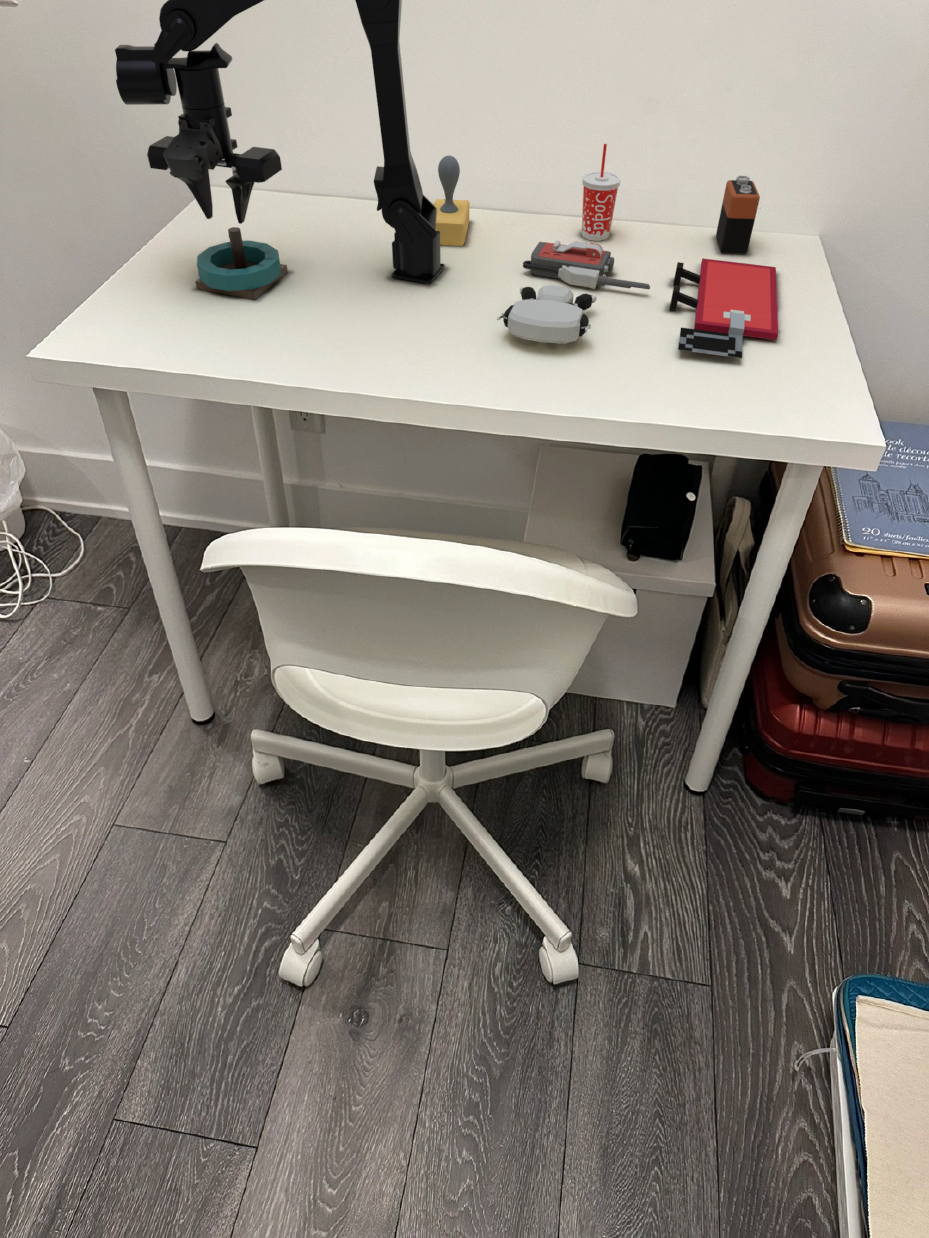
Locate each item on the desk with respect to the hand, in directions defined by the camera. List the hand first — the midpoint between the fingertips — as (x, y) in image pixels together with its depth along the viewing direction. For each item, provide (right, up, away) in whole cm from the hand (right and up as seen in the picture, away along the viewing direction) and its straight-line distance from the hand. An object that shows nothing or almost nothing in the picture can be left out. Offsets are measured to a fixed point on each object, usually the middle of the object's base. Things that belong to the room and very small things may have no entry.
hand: (225, 220), depth 133 cm
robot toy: (+47, -18, -7) cm, 51 cm away
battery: (+79, +2, +13) cm, 80 cm away
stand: (+2, -8, +3) cm, 9 cm away
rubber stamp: (+33, +5, +16) cm, 37 cm away
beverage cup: (+57, +5, +16) cm, 60 cm away
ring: (+2, -7, +2) cm, 7 cm away
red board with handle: (+73, -15, -3) cm, 75 cm away
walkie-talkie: (+55, -7, +5) cm, 55 cm away
